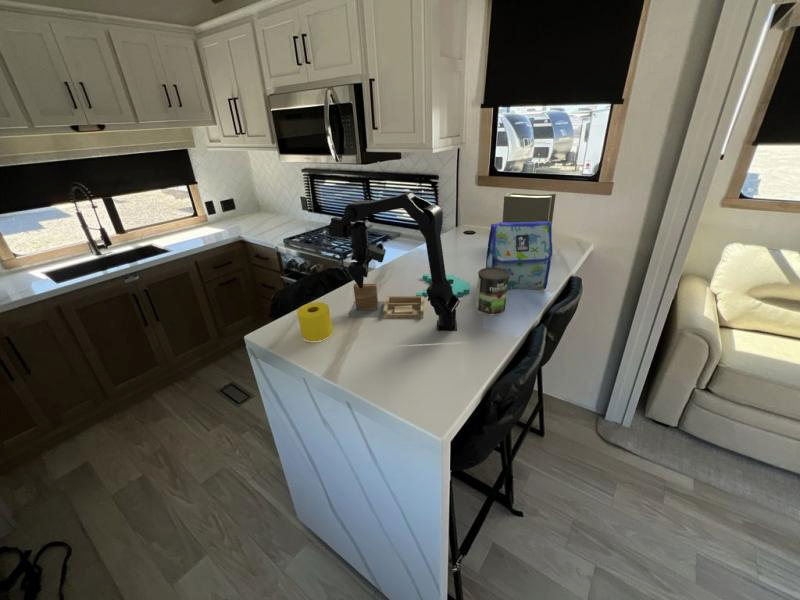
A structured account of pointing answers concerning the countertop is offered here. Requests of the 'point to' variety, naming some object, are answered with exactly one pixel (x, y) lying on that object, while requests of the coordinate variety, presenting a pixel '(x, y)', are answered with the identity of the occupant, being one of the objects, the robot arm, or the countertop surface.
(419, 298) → the rack
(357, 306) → the wooden block
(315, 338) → the yellow paper roll
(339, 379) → the countertop surface
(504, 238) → the lunch bag
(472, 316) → the countertop surface
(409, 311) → the offcut upper
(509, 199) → the book
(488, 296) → the coffee can
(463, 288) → the alien figure
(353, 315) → the mat
